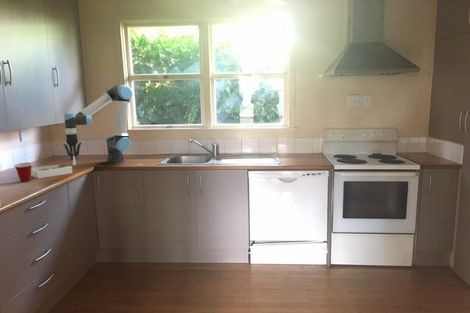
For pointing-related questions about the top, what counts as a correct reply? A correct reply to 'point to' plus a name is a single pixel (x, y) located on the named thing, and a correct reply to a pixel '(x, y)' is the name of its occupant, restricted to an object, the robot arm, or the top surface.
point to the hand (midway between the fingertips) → (74, 164)
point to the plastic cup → (24, 171)
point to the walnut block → (62, 165)
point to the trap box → (50, 171)
